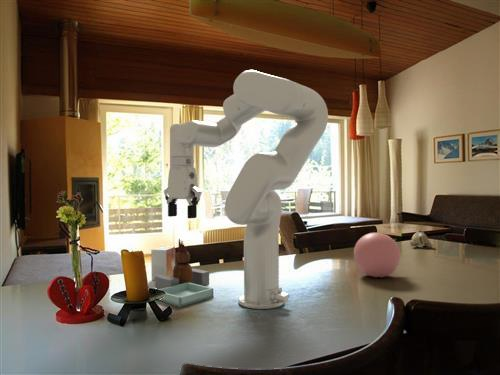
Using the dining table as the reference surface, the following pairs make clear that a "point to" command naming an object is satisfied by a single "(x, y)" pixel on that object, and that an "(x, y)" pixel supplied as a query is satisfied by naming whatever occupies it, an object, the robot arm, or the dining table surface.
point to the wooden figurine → (182, 265)
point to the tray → (186, 294)
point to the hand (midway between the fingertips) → (182, 217)
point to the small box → (162, 261)
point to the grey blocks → (167, 281)
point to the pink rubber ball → (376, 255)
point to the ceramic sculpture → (420, 240)
